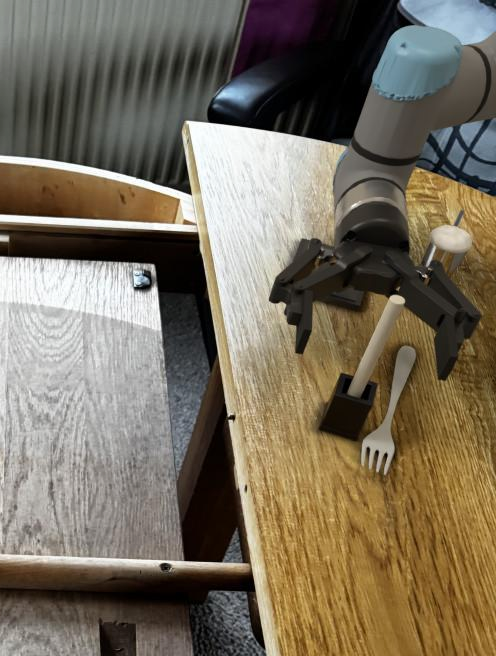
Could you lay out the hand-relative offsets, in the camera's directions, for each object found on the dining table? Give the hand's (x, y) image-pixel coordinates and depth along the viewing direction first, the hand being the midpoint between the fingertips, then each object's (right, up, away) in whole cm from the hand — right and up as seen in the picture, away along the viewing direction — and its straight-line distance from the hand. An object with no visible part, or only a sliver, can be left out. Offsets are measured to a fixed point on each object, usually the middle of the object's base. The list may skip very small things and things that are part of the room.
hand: (375, 355), depth 87 cm
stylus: (0, -4, +8) cm, 9 cm away
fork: (+5, -3, +10) cm, 12 cm away
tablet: (+4, +17, +24) cm, 30 cm away
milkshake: (+14, +13, +23) cm, 30 cm away
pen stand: (0, -4, +8) cm, 10 cm away
